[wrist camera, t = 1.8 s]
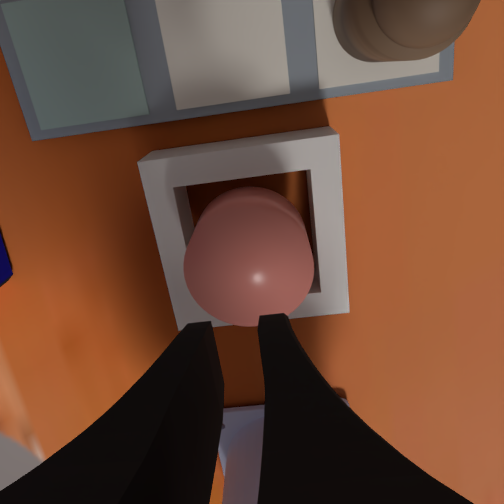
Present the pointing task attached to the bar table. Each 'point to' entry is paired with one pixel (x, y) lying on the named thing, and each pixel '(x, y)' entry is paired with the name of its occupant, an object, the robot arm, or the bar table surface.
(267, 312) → the button
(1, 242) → the puzzle cube
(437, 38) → the pawn
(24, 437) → the bar table surface
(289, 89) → the board
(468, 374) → the bar table surface
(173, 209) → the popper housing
